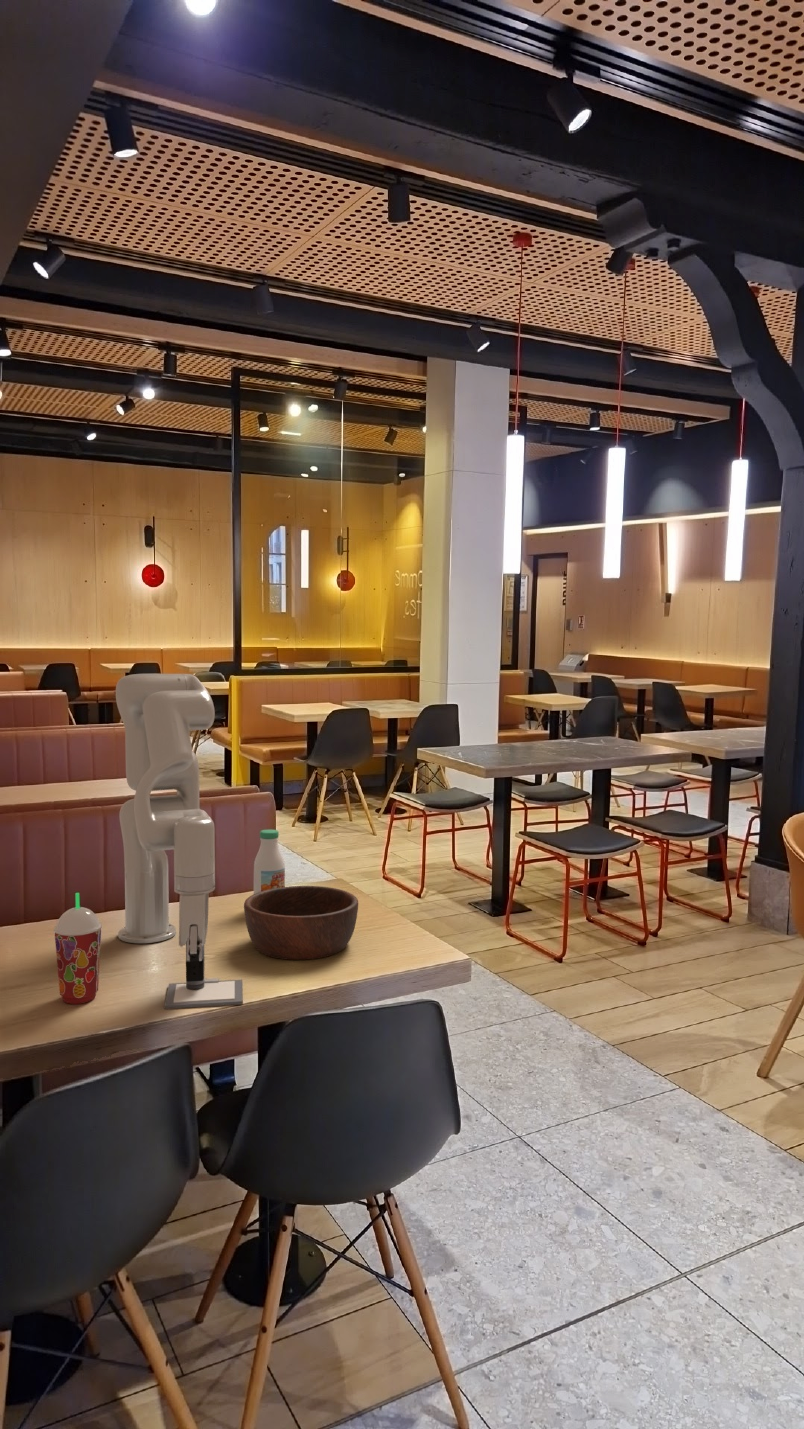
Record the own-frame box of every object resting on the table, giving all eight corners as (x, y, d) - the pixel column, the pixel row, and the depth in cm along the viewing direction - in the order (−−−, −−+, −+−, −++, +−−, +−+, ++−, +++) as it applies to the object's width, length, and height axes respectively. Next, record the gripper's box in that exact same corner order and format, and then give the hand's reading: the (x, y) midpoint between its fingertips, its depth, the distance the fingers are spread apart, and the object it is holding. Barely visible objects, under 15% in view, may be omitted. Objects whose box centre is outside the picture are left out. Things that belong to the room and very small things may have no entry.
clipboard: (168, 986, 177) (168, 980, 177) (242, 982, 179) (242, 976, 179) (164, 1009, 166) (164, 1003, 166) (242, 1004, 168) (242, 998, 168)
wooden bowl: (342, 924, 217) (342, 881, 216) (371, 959, 194) (371, 911, 193) (236, 933, 210) (236, 889, 209) (253, 970, 186) (253, 921, 185)
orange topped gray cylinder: (186, 983, 176) (185, 929, 175) (205, 982, 177) (205, 929, 176) (185, 990, 172) (184, 935, 172) (204, 989, 173) (204, 935, 172)
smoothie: (108, 989, 175) (106, 887, 173) (95, 1007, 166) (93, 899, 165) (64, 990, 174) (62, 887, 173) (48, 1007, 166) (46, 899, 164)
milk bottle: (249, 913, 225) (249, 833, 223) (259, 904, 232) (259, 827, 231) (279, 915, 224) (279, 834, 222) (288, 906, 231) (288, 828, 230)
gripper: (177, 872, 180) (178, 962, 182) (170, 894, 164) (171, 994, 166) (216, 870, 182) (216, 961, 183) (213, 893, 165) (214, 991, 167)
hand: (195, 975), depth 174 cm, fingers closed on orange topped gray cylinder, 3 cm apart
